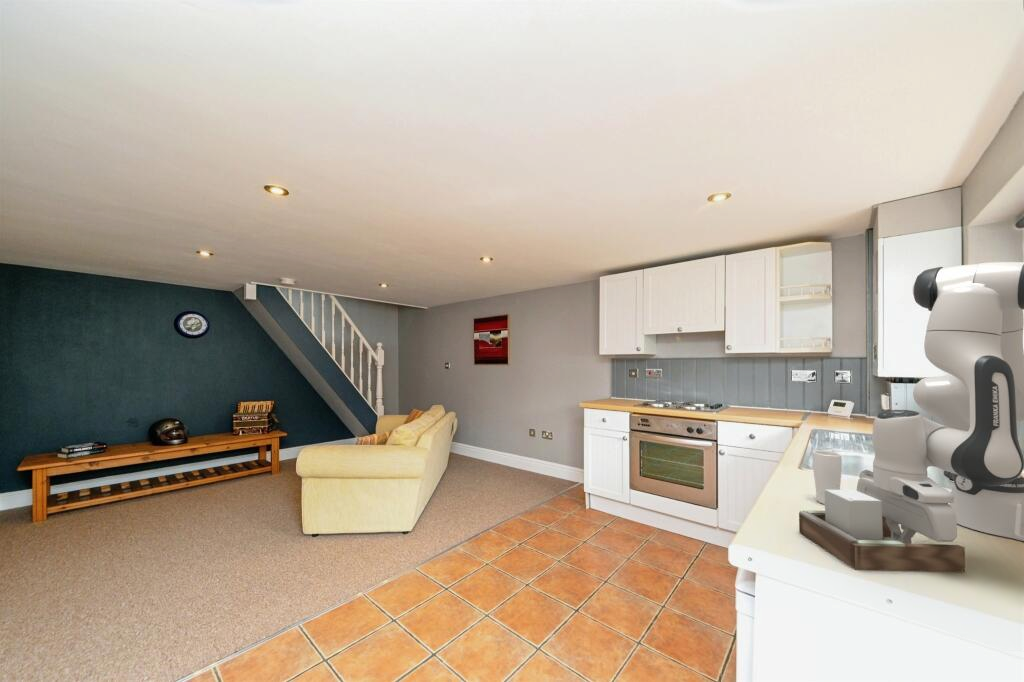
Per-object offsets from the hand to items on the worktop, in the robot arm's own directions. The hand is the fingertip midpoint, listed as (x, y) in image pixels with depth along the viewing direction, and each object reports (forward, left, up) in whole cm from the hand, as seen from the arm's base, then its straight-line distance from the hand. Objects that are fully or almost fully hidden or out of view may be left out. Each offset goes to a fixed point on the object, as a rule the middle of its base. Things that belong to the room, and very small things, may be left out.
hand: (901, 542), depth 88 cm
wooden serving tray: (+6, 0, -2) cm, 6 cm away
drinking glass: (-5, -28, -2) cm, 28 cm away
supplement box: (+11, 0, -2) cm, 11 cm away
